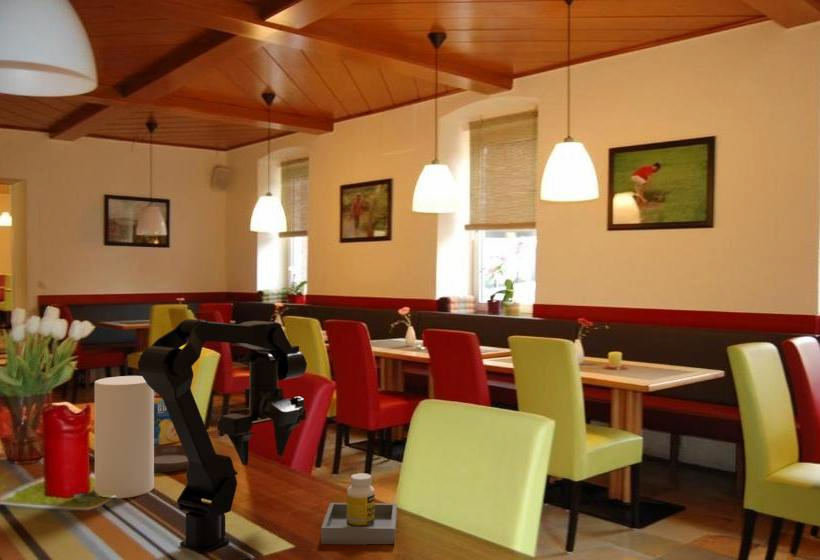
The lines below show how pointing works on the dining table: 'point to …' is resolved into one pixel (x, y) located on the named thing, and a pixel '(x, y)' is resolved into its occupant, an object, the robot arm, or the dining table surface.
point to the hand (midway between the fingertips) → (263, 460)
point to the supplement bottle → (360, 501)
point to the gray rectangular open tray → (339, 533)
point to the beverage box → (162, 423)
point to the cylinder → (124, 436)
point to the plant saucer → (170, 458)
